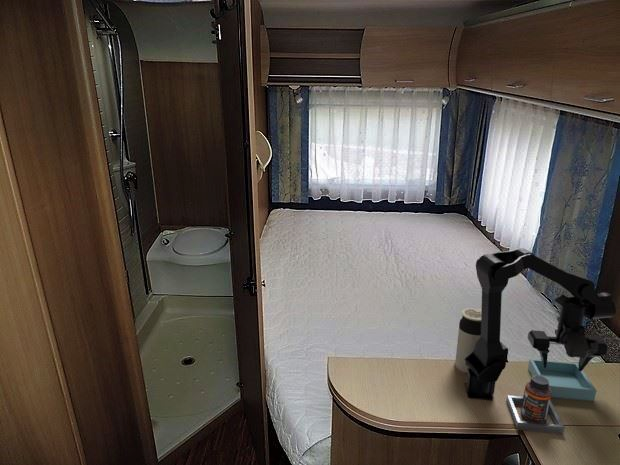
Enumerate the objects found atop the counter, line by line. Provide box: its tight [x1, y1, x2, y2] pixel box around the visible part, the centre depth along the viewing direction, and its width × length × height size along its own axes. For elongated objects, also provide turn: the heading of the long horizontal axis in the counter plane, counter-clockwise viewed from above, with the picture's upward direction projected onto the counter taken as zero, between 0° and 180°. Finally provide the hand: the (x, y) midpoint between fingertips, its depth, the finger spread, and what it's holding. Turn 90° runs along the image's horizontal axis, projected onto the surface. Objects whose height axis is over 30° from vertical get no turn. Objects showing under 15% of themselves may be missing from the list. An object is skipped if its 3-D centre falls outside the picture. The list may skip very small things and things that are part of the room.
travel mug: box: [454, 307, 481, 374], centre depth 132 cm, size 8×8×18 cm
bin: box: [527, 358, 597, 403], centre depth 126 cm, size 13×13×4 cm
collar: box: [505, 394, 565, 435], centre depth 114 cm, size 11×11×2 cm
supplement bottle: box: [520, 375, 552, 423], centre depth 112 cm, size 6×6×11 cm
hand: (561, 368), depth 125 cm, fingers open, 9 cm apart
